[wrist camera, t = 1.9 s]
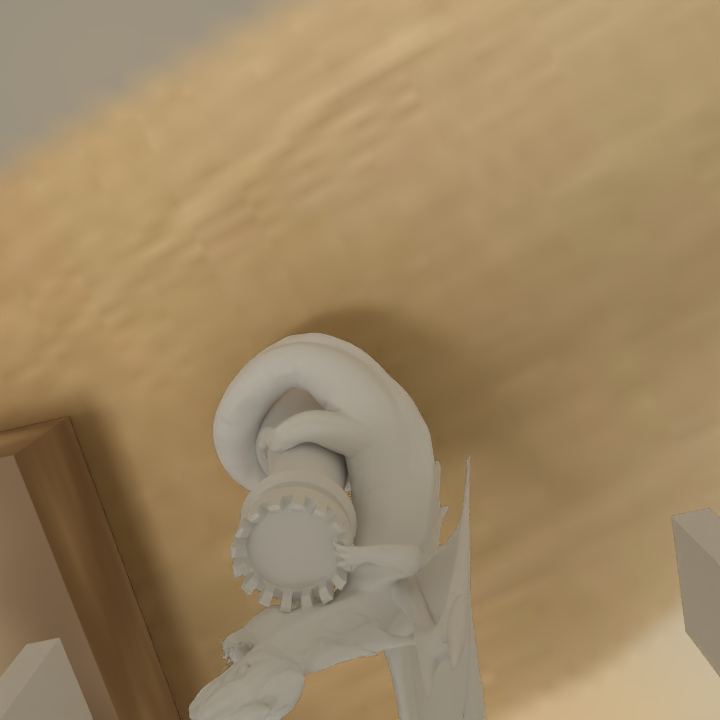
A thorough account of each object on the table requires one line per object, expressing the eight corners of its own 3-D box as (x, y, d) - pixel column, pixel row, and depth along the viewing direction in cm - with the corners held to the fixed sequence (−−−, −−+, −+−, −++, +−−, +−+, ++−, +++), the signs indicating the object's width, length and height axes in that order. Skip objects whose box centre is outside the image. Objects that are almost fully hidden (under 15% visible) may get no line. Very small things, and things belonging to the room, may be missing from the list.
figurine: (181, 393, 21) (-39, 614, 10) (369, 276, 20) (380, 364, 9) (346, 621, 23) (330, 1029, 12) (522, 525, 22) (698, 867, 11)
